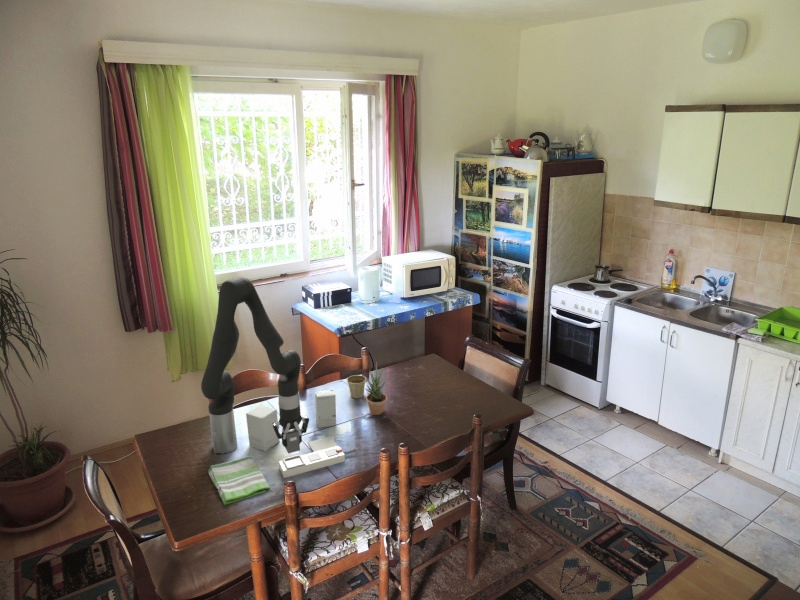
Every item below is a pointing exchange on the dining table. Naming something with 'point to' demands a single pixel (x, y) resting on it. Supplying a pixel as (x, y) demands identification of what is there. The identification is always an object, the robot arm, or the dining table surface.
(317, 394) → the skincare box
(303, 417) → the robot arm
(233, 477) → the dish towel
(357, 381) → the flower pot
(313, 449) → the mat
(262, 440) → the supplement box
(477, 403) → the dining table surface
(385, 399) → the potted plant
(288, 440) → the charger
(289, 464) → the power strip
